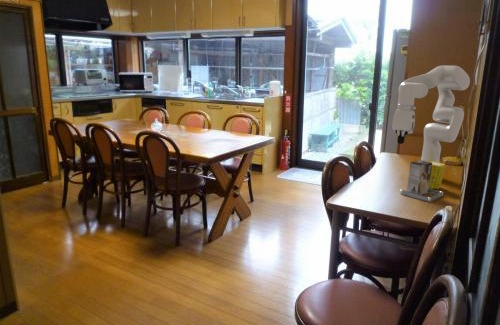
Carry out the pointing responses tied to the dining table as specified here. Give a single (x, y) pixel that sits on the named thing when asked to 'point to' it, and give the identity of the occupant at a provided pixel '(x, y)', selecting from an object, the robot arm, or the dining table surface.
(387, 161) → the dining table surface
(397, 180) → the dining table surface
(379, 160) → the dining table surface
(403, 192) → the grey rod frame
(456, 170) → the dining table surface
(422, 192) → the coffee box
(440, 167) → the food
